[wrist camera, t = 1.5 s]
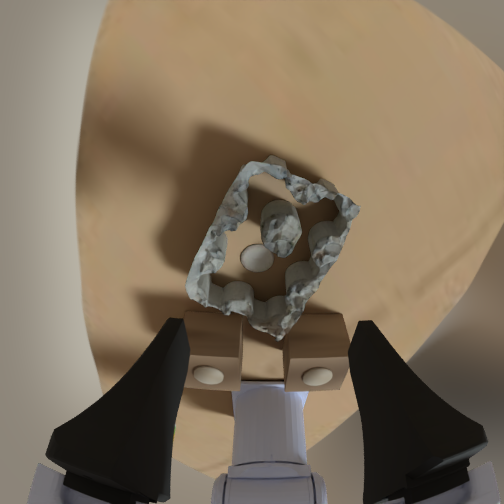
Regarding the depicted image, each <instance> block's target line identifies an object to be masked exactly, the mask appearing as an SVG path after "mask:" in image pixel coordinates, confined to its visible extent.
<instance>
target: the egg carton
mask: <svg viewBox="0 0 504 504" xmlns="http://www.w3.org/2000/svg"><path fill="white" fill-rule="evenodd" d="M262 172H267V173H268V174H270V175H271V176H273V177H274V178H276V179H283V178H285V184H286V188H287V189H288V190H290V192H291V193H292V195H293V197H294V198H295V200H296V201H297V202H300V203H302V204H303V205H305V204H306V203H308V202H309V201H313V202H314V203H315V202H319V201H320V200H321V199H322V198H324V197H326V198H328V199H330V200H334V201H335V203H336V206H337V208H338V209H339V213H338V215H337V217H336V218H335V219H334V221H333V222H332V221H322V222H319V223H316V224H315V225H314V226H313V227H312V228H311V229H310V231H309V234H308V243H309V248H310V252H311V257H310V260H309V261H308V262H307V261H299V262H295V263H293V264H292V265H290V266H289V267H288V268H287V270H286V272H285V284H286V295H285V296H274V297H272V298H270V299H269V300H267V301H266V302H262V301H259V300H257V299H254V290H253V288H252V287H251V286H250V285H249V284H247V283H245V282H241V281H234V282H231V283H229V284H227V285H226V286H225V287H224V288H222V287H219V286H217V285H215V284H213V283H212V282H211V275H210V273H216V271H217V270H219V269H220V268H221V267H222V265H223V263H224V261H225V255H226V248H227V240H228V239H227V236H226V234H225V233H224V231H227V230H230V231H236V229H237V228H238V226H239V225H240V224H241V223H242V222H244V221H245V220H246V219H247V214H248V208H247V203H248V191H247V188H248V186H249V183H248V180H249V178H250V177H251V176H253V175H258V174H261V173H262ZM296 209H297V208H295V207H294V206H293V205H292V204H291V203H290V202H288V201H285V200H275V201H272V202H269V203H268V204H267V205H266V206H265V207H264V208H263V210H262V212H261V225H260V230H261V239H262V242H263V244H264V245H262V244H253V245H251V246H248V247H247V248H246V249H245V250H244V251H243V252H242V254H241V262H242V264H243V266H244V267H245V268H246V269H247V270H249V271H252V272H263V271H265V270H267V269H269V268H270V267H271V266H272V264H273V262H274V254H273V253H275V254H277V256H278V257H282V258H285V257H287V256H288V255H290V254H291V253H292V252H293V249H294V246H295V244H296V242H297V241H298V239H299V238H300V236H301V233H302V230H301V225H300V221H299V217H298V214H297V210H296ZM359 211H360V206H357V205H356V204H354V203H353V202H352V200H351V199H350V198H348V197H346V196H344V195H343V194H339V192H338V191H337V189H336V188H335V185H334V184H332V183H330V182H328V181H326V180H324V179H320V180H319V181H318V182H317V183H316V184H312V183H311V182H310V181H308V180H306V179H304V178H301V177H298V176H295V175H292V174H291V173H290V172H289V170H287V167H286V162H285V161H284V160H282V159H280V158H278V157H276V156H274V155H270V156H269V157H268V158H267V159H266V160H265V161H264V162H262V163H261V162H254V161H251V162H249V163H248V164H247V165H242V167H241V169H240V171H239V173H238V176H237V177H236V179H235V180H234V182H233V184H232V185H231V187H230V188H229V190H228V192H227V194H226V195H225V197H224V200H223V202H222V204H221V205H220V207H219V209H218V211H217V214H216V217H215V219H214V222H213V223H212V225H211V226H210V228H209V230H208V232H207V234H206V236H205V238H204V241H203V243H202V245H201V247H200V249H199V251H198V253H197V255H196V256H195V258H194V261H193V263H192V266H191V269H190V272H189V274H188V277H187V281H186V285H185V286H186V291H187V293H188V295H189V298H190V299H192V300H195V301H197V302H199V303H200V304H202V305H203V306H204V307H207V306H211V307H214V308H217V309H219V310H220V311H222V313H223V314H224V315H230V314H231V311H234V312H236V313H239V314H242V315H246V316H247V320H248V322H249V324H250V325H251V326H252V327H254V328H255V329H257V330H259V331H262V332H267V333H268V334H270V335H272V336H274V337H276V339H275V341H277V342H278V341H280V340H281V339H282V338H283V337H284V335H285V334H288V332H289V331H290V330H291V328H292V326H293V325H294V324H295V323H296V322H297V320H298V319H299V317H300V316H301V314H302V312H303V311H304V307H305V303H306V302H307V300H308V299H309V298H310V297H311V296H312V295H313V294H314V293H315V292H316V290H317V289H318V288H319V285H320V282H321V281H322V279H323V278H324V276H325V275H326V274H327V272H328V270H329V269H330V267H331V266H332V265H333V264H334V263H335V262H336V261H337V258H338V256H339V254H340V251H341V249H342V247H343V245H344V242H345V239H346V236H347V234H348V232H349V230H350V227H351V223H352V219H354V218H355V217H357V215H358V213H359Z"/></svg>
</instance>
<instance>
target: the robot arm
mask: <svg viewBox="0 0 504 504" xmlns="http://www.w3.org/2000/svg"><path fill="white" fill-rule="evenodd" d="M189 358H190V346H189V341H188V337H187V332H186V328H185V323H184V319H178V318H169V319H168V320H167V321H166V322H165V324H164V325H163V327H162V328H161V330H160V331H159V333H158V334H157V335H156V337H155V338H154V340H153V341H152V342H151V344H150V345H149V346H148V347H147V349H146V350H145V351H144V353H143V354H142V355H141V357H140V358H139V359H138V360H137V361H136V363H135V364H134V365H133V366H132V367H131V368H130V370H129V371H128V372H127V373H126V374H125V375H124V376H123V377H122V378H121V379H120V380H119V381H118V382H117V383H116V384H115V385H114V386H113V387H112V388H111V389H110V390H109V391H108V392H107V393H106V394H104V395H103V396H102V397H101V398H100V399H99V400H98V401H96V402H95V403H94V404H93V405H91V406H90V407H88V408H87V409H86V410H84V411H83V412H82V413H80V414H79V415H77V416H76V417H74V418H73V419H71V420H69V421H68V422H66V423H64V424H63V425H61V426H59V427H58V428H56V429H54V432H53V434H52V436H51V439H50V442H49V445H48V448H47V451H46V457H47V458H48V459H49V460H51V461H52V462H54V463H55V464H57V465H59V466H60V467H62V468H64V469H65V470H67V471H66V475H63V474H61V473H59V472H57V471H55V470H53V469H51V468H49V467H47V466H44V465H43V464H41V463H38V465H37V468H36V472H35V475H34V478H33V482H32V485H31V489H30V493H29V497H28V501H27V504H149V502H152V503H157V501H159V502H166V501H167V500H169V499H170V476H171V475H170V474H171V458H172V447H173V437H174V429H175V422H176V417H177V412H178V408H179V404H180V400H181V396H182V392H183V388H184V384H185V380H186V376H187V372H188V366H189ZM348 359H349V367H350V374H351V378H352V382H353V386H354V390H355V394H356V399H357V403H358V407H359V411H360V416H361V422H362V430H363V440H364V441H363V442H364V492H363V504H499V503H500V502H501V500H500V495H499V490H498V485H497V481H496V477H495V473H494V469H493V465H492V461H488V462H486V463H484V464H482V465H480V466H478V467H476V468H474V469H472V470H470V471H467V467H468V466H469V465H470V463H469V458H470V457H472V456H473V455H475V454H476V453H478V452H479V451H480V450H482V449H483V448H484V447H485V446H487V443H488V440H487V437H486V434H485V431H484V428H483V426H482V425H480V424H478V423H477V422H475V421H473V420H471V419H470V418H468V417H466V416H465V415H463V414H461V413H460V412H459V411H457V410H456V409H454V408H453V407H451V406H450V405H449V404H448V403H446V402H445V401H444V400H443V399H441V398H440V397H439V396H438V395H437V394H435V393H434V392H433V391H432V390H431V389H430V388H429V387H428V386H427V385H426V384H425V383H424V382H422V380H421V379H420V378H419V377H418V376H417V375H416V374H415V373H414V372H413V371H412V370H411V369H410V368H409V367H408V365H407V364H406V363H405V362H404V360H403V359H402V358H401V357H400V356H399V354H398V353H397V352H396V351H395V349H394V348H393V347H392V346H391V344H390V343H389V342H388V340H387V339H386V338H385V336H384V335H383V334H382V333H381V331H380V330H379V329H378V327H377V326H376V325H375V324H374V322H373V321H372V320H368V321H359V322H358V324H357V327H356V330H355V333H354V336H353V338H352V341H351V344H350V347H349V349H348ZM308 392H309V391H304V392H285V388H284V382H260V381H241V387H240V391H232V401H233V411H234V420H235V425H234V439H233V453H232V466H228V474H226V473H222V474H221V475H220V476H219V477H218V478H216V479H215V482H214V485H213V490H212V498H211V504H327V492H326V486H325V482H324V479H323V477H322V476H320V475H319V474H318V473H317V472H311V466H310V465H307V459H306V444H305V430H304V418H303V408H304V405H305V401H306V398H307V395H308Z"/></svg>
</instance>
